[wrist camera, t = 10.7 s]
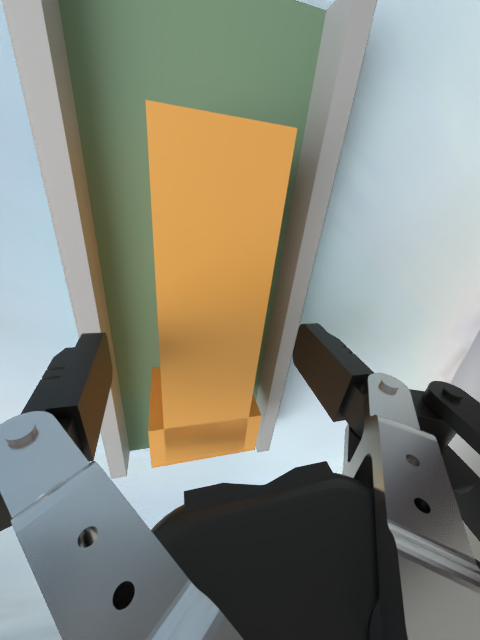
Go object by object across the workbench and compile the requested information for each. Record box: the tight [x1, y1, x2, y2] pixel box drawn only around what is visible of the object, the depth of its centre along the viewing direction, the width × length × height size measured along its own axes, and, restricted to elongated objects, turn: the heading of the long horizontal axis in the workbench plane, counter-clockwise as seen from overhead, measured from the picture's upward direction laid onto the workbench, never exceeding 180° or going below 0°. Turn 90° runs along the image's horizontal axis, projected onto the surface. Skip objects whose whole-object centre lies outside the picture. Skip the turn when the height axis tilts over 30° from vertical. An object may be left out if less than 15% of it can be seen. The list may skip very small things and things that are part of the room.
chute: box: [145, 100, 297, 468], centre depth 13 cm, size 16×6×5 cm, turn 174°
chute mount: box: [2, 0, 377, 479], centre depth 15 cm, size 26×13×3 cm, turn 174°
